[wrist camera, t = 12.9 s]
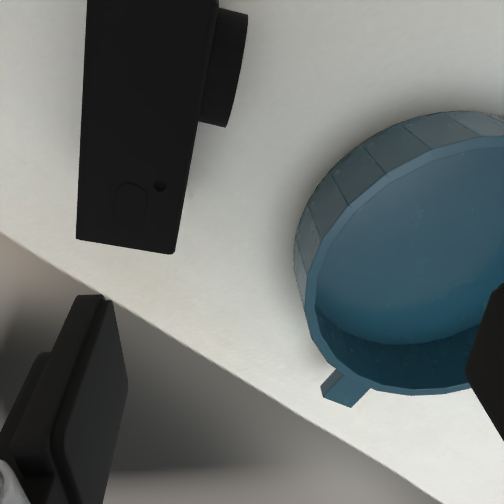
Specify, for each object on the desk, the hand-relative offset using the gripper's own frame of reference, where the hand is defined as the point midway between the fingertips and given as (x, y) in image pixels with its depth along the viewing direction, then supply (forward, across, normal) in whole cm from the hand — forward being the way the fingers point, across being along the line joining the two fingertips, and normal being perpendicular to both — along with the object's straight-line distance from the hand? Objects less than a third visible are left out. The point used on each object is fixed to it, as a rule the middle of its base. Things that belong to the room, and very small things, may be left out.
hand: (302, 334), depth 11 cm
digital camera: (+16, +5, -2) cm, 17 cm away
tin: (+16, -11, +7) cm, 21 cm away
